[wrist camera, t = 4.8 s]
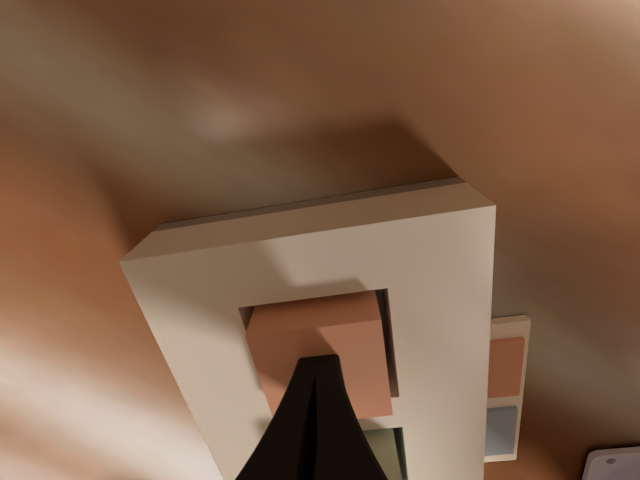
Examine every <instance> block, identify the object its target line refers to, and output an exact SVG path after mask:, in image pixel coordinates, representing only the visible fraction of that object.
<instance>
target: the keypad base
mask: <svg viewBox="0 0 640 480" xmlns="http://www.w3.org/2000/svg"><path fill="white" fill-rule="evenodd" d="M495 218H496V205H495V204H494V203H493V202H491V201H490V200H489V199H487V198H486V197H485V196H484V195H482V194H481V193H480V192H478V191H477V190H476V189H475V188H473V187H472V186H471V185H469V184H468V183H467V182H466V181H464V180H463V179H462V178H460V177H453V178H447V179H440V180H434V181H428V182H422V183H415V184H409V185H403V186H396V187H390V188H384V189H377V190H371V191H365V192H359V193H352V194H346V195H340V196H333V197H327V198H321V199H315V200H308V201H302V202H296V203H289V204H283V205H277V206H270V207H264V208H258V209H252V210H245V211H239V212H233V213H226V214H220V215H214V216H208V217H201V218H195V219H189V220H182V221H176V222H170V223H163V224H160V225H159V226H158V227H157V228H156V229H155V230H154V231H152V232H151V233H150V234H149V235H148V236H147V237H146V238H145V239H143V240H142V241H141V242H140V243H139V244H138V245H137V246H136V247H134V248H133V249H132V250H131V251H130V252H129V253H128V254H126V255H125V256H124V257H123V258H122V259H121V260H120V261H119V264H120V266H121V269H122V271H123V273H124V275H125V277H126V279H127V281H128V283H129V285H130V287H131V289H132V291H133V293H134V295H135V297H136V300H137V302H138V304H139V306H140V308H141V310H142V312H143V314H144V316H145V318H146V320H147V322H148V324H149V326H150V328H151V331H152V333H153V335H154V337H155V339H156V341H157V343H158V345H159V347H160V349H161V351H162V353H163V355H164V357H165V359H166V362H167V364H168V366H169V368H170V370H171V372H172V374H173V376H174V378H175V380H176V382H177V384H178V386H179V388H180V390H181V393H182V395H183V397H184V399H185V401H186V403H187V405H188V407H189V409H190V411H191V413H192V415H193V417H194V419H195V421H196V424H197V426H198V428H199V430H200V432H201V434H202V436H203V438H204V440H205V442H206V444H207V446H208V448H209V450H210V452H211V454H212V457H213V459H214V461H215V463H216V465H217V467H218V469H219V471H220V473H221V475H222V477H223V479H224V480H235V478H236V477H237V476H238V474H239V473H240V471H241V470H242V468H243V467H244V465H245V464H246V462H247V461H248V459H249V458H250V456H251V454H252V453H253V451H254V450H255V448H256V446H257V445H258V443H259V441H260V440H261V438H262V436H263V434H264V432H265V431H266V429H267V427H268V425H269V423H270V421H271V420H272V418H273V417H272V414H271V411H270V408H269V405H268V402H267V399H266V396H265V393H264V390H263V387H262V384H261V382H260V379H259V376H258V373H257V370H256V367H255V364H254V361H253V358H252V355H251V352H250V349H249V346H248V343H247V340H246V337H245V335H246V332H247V329H248V326H249V323H250V320H251V317H252V313H253V310H254V307H255V305H263V304H270V303H278V302H286V301H293V300H301V299H308V298H316V297H324V296H331V295H339V294H346V293H354V292H362V291H369V290H375V293H376V297H377V302H378V307H379V311H380V316H381V321H382V330H383V338H384V346H385V354H386V362H387V370H388V379H389V387H390V395H391V403H392V411H393V415H390V416H380V417H369V418H359V419H357V420H358V422H359V424H360V426H361V429H362V431H365V430H375V429H386V428H393V433H394V438H395V444H396V449H397V455H398V460H399V466H400V471H401V477H402V480H483V477H484V455H485V434H486V412H487V390H488V369H489V347H490V326H491V304H492V283H493V261H494V239H495Z"/></svg>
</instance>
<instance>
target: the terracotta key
mask: <svg viewBox="0 0 640 480" xmlns="http://www.w3.org/2000/svg"><path fill="white" fill-rule="evenodd" d="M245 337H246V340H247V343H248V346H249V349H250V352H251V355H252V358H253V361H254V364H255V367H256V370H257V373H258V376H259V379H260V382H261V384H262V387H263V390H264V393H265V396H266V399H267V402H268V405H269V408H270V411H271V414H272V417H273V416H274V414H275V412H276V410H277V408H278V406H279V404H280V402H281V400H282V397H283V395H284V393H285V391H286V389H287V387H288V384H289V382H290V380H291V377H292V375H293V372H294V370H295V367H296V364H297V361H298V360H299V359H300V358H304V357H312V356H321V355H329V354H337V355H338V356H339V358H340V363H341V368H342V373H343V378H344V383H345V388H346V391H347V394H348V397H349V400H350V402H351V405H352V408H353V410H354V412H355V415H356V417H357V419H359V418H369V417H380V416H390V415H393V411H392V403H391V395H390V387H389V379H388V370H387V362H386V354H385V346H384V338H383V330H382V321H381V316H380V311H379V307H378V302H377V297H376V293H375V290H369V291H362V292H354V293H346V294H339V295H331V296H324V297H316V298H308V299H301V300H293V301H286V302H278V303H270V304H263V305H255V307H254V310H253V313H252V317H251V320H250V323H249V326H248V329H247V332H246V335H245Z"/></svg>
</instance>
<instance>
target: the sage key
mask: <svg viewBox="0 0 640 480" xmlns="http://www.w3.org/2000/svg"><path fill="white" fill-rule="evenodd" d="M363 433H364V435H365V437H366V439H367V441H368V443H369V445H370V447H371V449H372V451H373V453H374V455H375V457H376V459H377V461H378V462H379V464H380V466H381V468H382V470H383V471H384V473H385V475H386V477H387V478H388V480H402V477H401V471H400V466H399V460H398V455H397V449H396V444H395V438H394V433H393V428H386V429H375V430H365V431H363Z"/></svg>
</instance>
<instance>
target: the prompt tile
mask: <svg viewBox="0 0 640 480" xmlns="http://www.w3.org/2000/svg"><path fill="white" fill-rule="evenodd" d="M530 328H531V319H530V318H529V317H528V315H527V314H526V315H518V316H509V317H501V318H493V319H491V326H490V347H489V369H488V390H487V412H486V434H485V455H484V462H494V461H506V460H516V457H517V448H518V438H519V429H520V420H521V411H522V402H523V392H524V383H525V374H526V365H527V356H528V347H529V337H530Z"/></svg>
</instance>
